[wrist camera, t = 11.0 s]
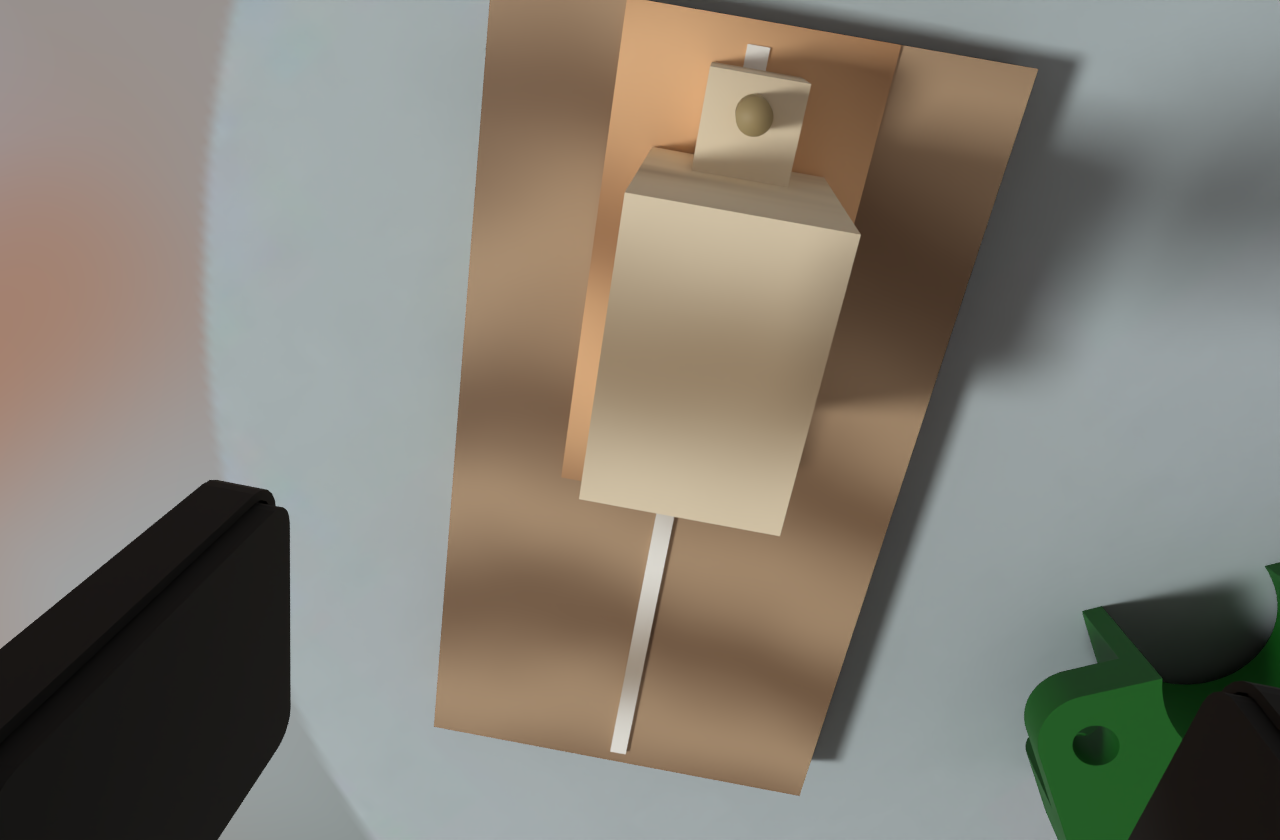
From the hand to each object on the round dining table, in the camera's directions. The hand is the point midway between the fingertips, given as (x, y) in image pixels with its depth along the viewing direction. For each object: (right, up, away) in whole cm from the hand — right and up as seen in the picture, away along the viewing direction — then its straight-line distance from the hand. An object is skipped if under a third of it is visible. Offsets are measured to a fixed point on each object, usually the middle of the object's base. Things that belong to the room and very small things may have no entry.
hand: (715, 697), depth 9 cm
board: (0, +2, +16) cm, 16 cm away
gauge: (+1, +6, +12) cm, 14 cm away
